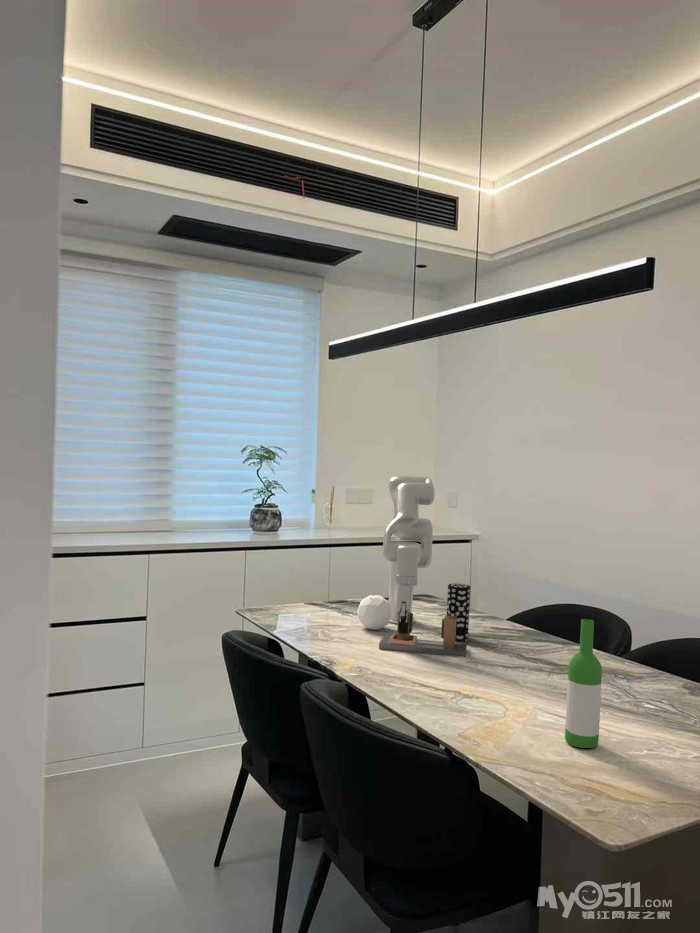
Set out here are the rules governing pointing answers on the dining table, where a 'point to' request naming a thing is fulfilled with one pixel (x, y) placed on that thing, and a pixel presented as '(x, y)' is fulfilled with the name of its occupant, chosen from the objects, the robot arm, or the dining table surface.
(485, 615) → the dining table surface
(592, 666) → the wine bottle
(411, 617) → the gripped brown wooden block
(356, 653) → the dining table surface
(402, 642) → the rail
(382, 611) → the geodesic sphere
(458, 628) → the white-spotted black cylinder
